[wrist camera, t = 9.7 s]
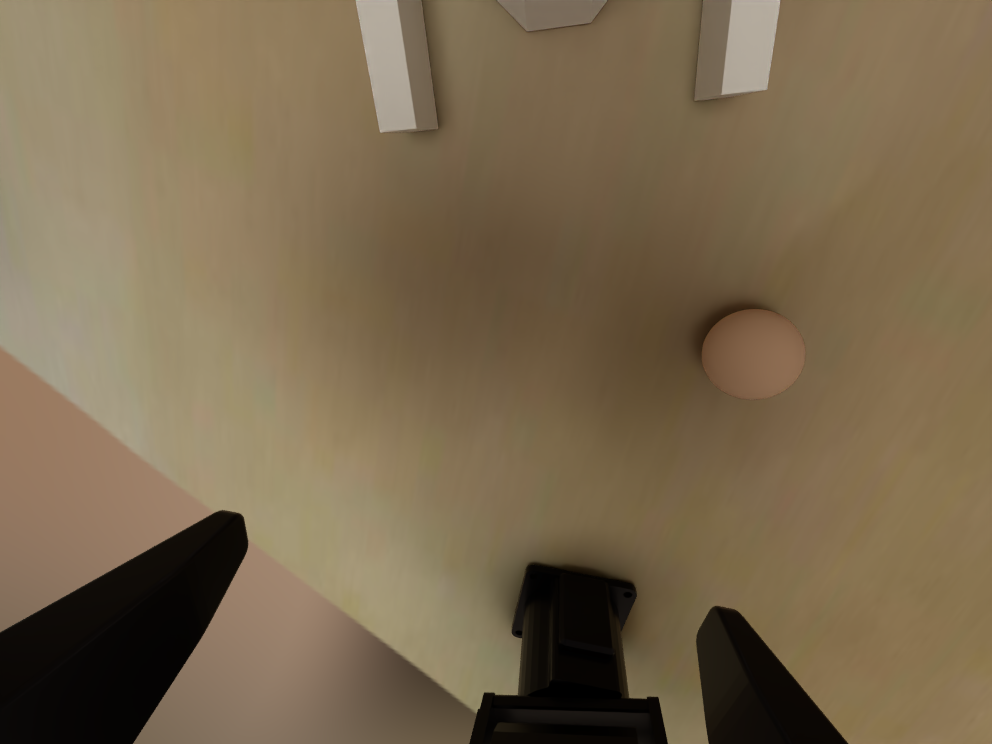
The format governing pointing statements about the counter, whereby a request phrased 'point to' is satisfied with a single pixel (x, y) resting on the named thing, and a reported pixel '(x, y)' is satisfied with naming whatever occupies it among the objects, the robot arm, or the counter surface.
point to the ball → (753, 354)
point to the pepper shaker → (552, 12)
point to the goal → (407, 74)
